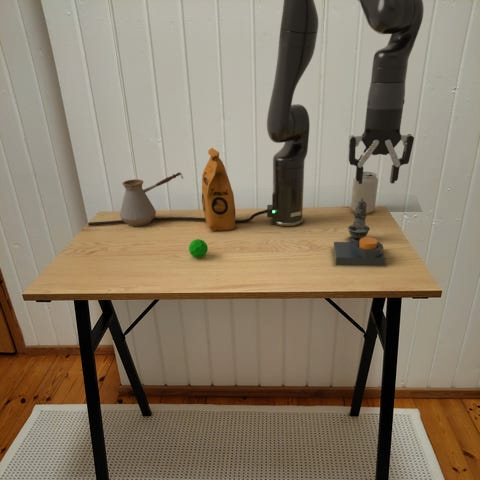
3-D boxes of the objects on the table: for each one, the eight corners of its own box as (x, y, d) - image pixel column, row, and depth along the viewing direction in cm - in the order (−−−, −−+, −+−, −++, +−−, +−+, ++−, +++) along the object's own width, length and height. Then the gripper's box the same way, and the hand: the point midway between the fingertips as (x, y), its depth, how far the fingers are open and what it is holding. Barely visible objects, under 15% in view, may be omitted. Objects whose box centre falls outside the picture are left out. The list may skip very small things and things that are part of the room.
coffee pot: (118, 229, 142) (109, 181, 134) (123, 217, 152) (115, 171, 144) (187, 225, 143) (182, 177, 135) (187, 213, 153) (183, 167, 145)
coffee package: (205, 233, 137) (198, 157, 125) (203, 219, 147) (197, 148, 135) (237, 230, 137) (234, 155, 126) (233, 216, 148) (230, 146, 136)
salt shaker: (370, 237, 129) (375, 196, 122) (365, 245, 124) (371, 202, 118) (349, 235, 131) (353, 194, 125) (344, 242, 127) (348, 200, 120)
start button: (359, 250, 113) (360, 243, 112) (358, 243, 117) (358, 237, 116) (377, 250, 113) (378, 244, 112) (375, 243, 117) (376, 237, 116)
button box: (335, 265, 115) (336, 251, 113) (333, 249, 123) (334, 235, 121) (384, 266, 113) (386, 251, 111) (378, 249, 122) (380, 235, 120)
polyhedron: (211, 258, 121) (209, 241, 119) (193, 262, 120) (192, 245, 117) (203, 251, 125) (202, 235, 123) (187, 255, 124) (185, 239, 121)
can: (374, 215, 144) (379, 176, 138) (350, 214, 145) (354, 176, 139) (373, 207, 150) (378, 170, 144) (350, 206, 152) (354, 170, 145)
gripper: (416, 101, 100) (404, 178, 109) (349, 103, 101) (343, 178, 110) (423, 106, 93) (410, 187, 102) (352, 108, 95) (345, 187, 104)
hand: (375, 182), depth 106 cm, fingers open, 7 cm apart
